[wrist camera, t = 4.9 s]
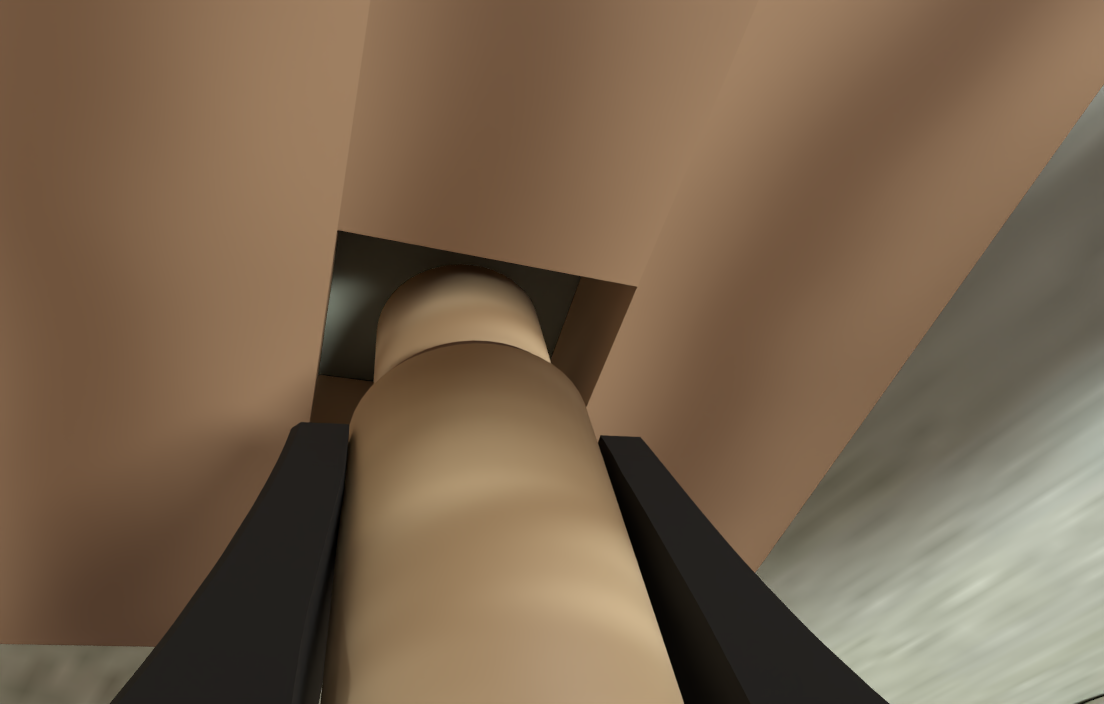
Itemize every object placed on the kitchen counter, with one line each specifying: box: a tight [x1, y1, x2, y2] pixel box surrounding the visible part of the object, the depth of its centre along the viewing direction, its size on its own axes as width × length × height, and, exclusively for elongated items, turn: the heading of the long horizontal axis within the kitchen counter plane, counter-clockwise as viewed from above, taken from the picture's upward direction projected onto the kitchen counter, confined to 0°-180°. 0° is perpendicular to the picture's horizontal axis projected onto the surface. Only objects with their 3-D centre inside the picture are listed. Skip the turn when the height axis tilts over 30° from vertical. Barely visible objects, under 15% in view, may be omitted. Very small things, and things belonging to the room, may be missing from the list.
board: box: [0, 0, 1104, 647], centre depth 13 cm, size 16×16×2 cm
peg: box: [321, 264, 684, 704], centre depth 9 cm, size 3×3×8 cm
